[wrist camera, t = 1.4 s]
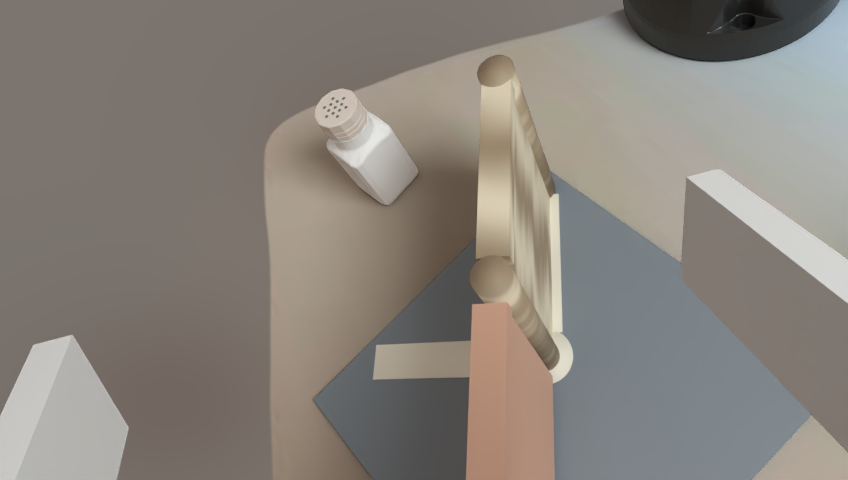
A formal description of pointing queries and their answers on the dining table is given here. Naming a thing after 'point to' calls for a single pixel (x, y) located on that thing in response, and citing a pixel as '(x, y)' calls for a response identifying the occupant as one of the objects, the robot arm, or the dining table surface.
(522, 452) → the pink wooden flat board
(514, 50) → the dining table surface
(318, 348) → the dining table surface
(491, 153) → the fixed fence section
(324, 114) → the salt shaker
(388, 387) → the card
